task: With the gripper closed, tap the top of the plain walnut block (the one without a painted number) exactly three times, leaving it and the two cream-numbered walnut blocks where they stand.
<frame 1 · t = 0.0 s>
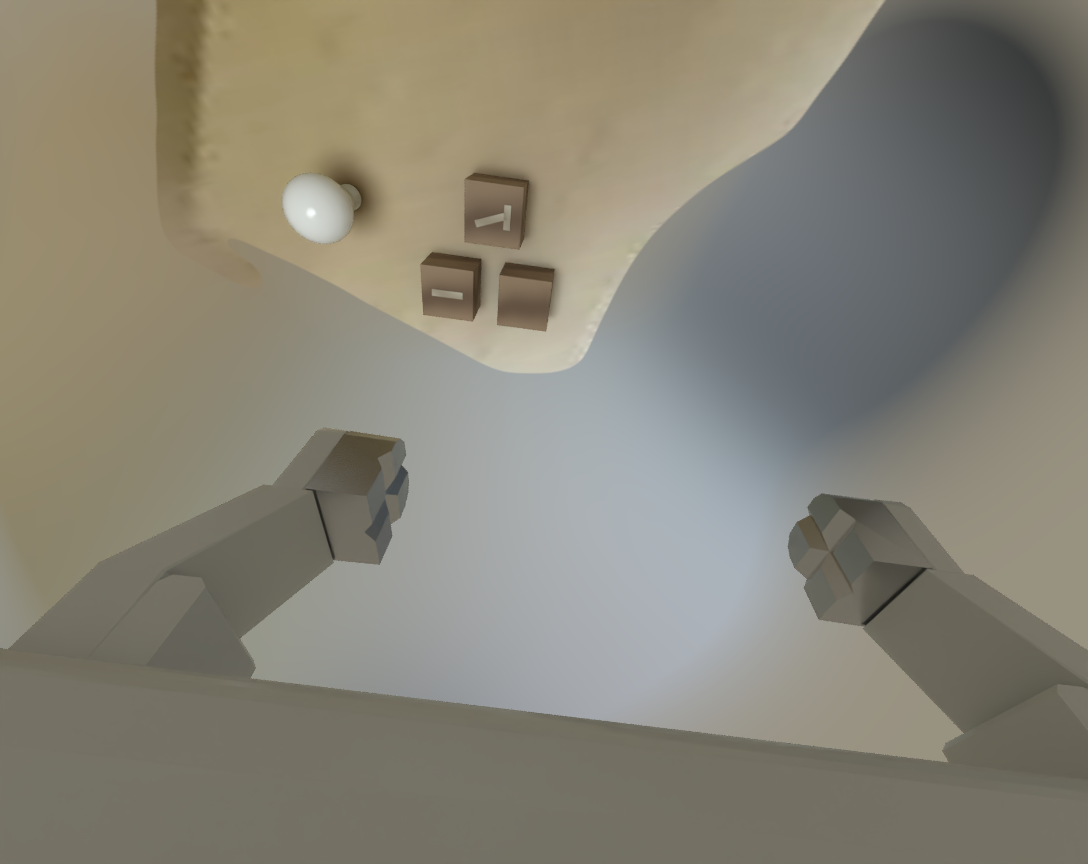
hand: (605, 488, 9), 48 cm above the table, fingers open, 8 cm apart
numbered block 7: (500, 206, 49), on the table
lightbulb: (352, 195, 50), on the table
numbered block 1: (457, 280, 55), on the table
plain block: (527, 289, 55), on the table
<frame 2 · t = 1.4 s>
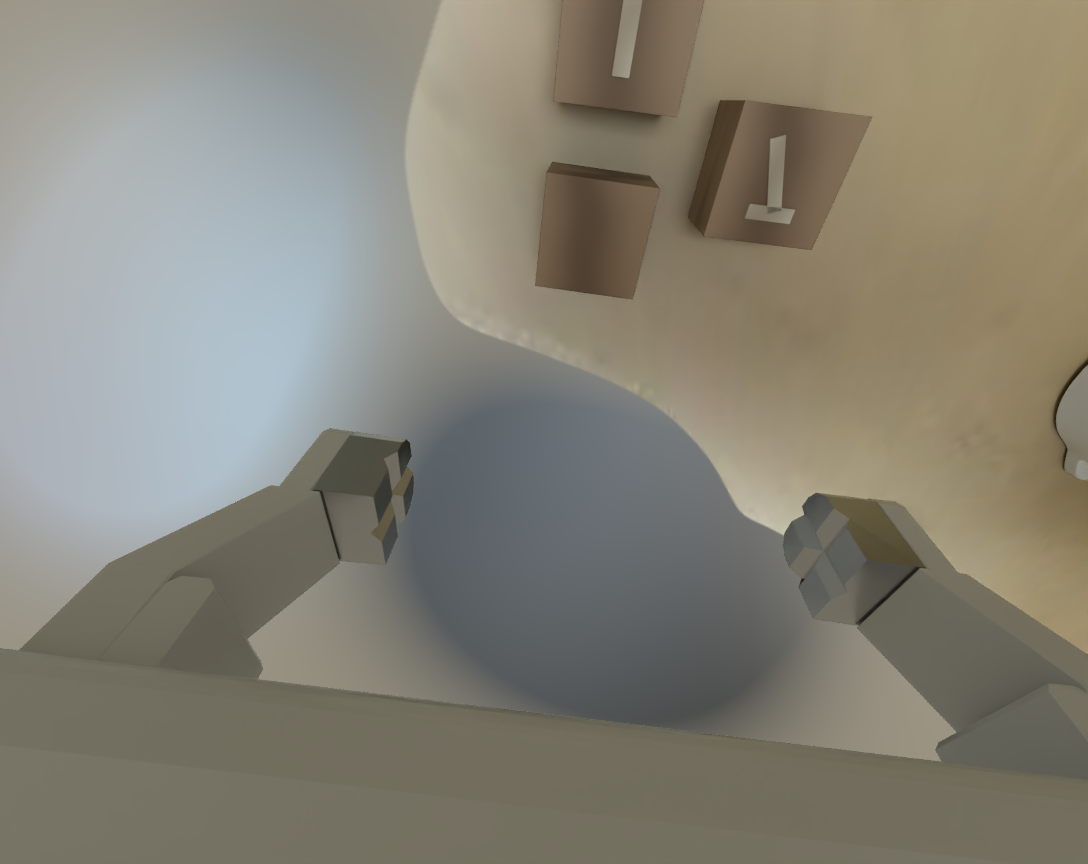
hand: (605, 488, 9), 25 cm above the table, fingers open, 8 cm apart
numbered block 7: (751, 169, 26), on the table
numbered block 1: (621, 38, 23), on the table
plain block: (592, 221, 29), on the table
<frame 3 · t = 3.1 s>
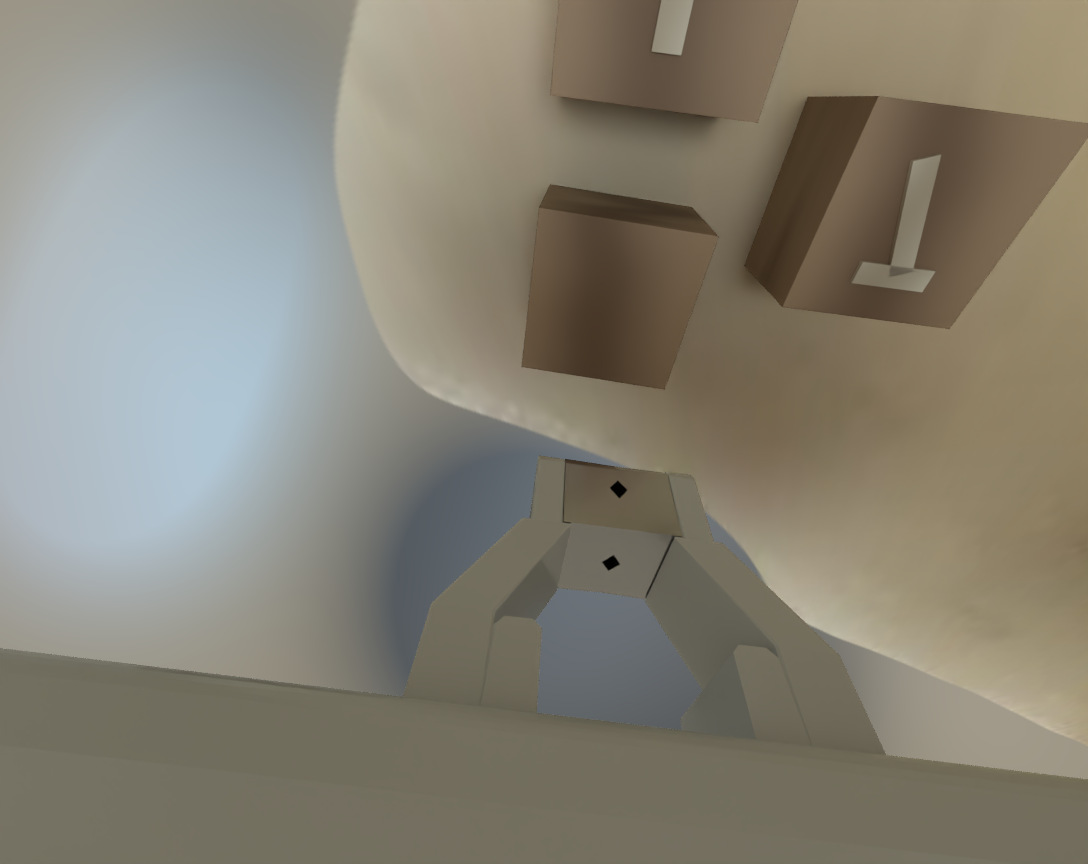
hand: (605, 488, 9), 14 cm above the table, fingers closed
numbered block 7: (845, 199, 18), on the table
plain block: (605, 267, 20), on the table
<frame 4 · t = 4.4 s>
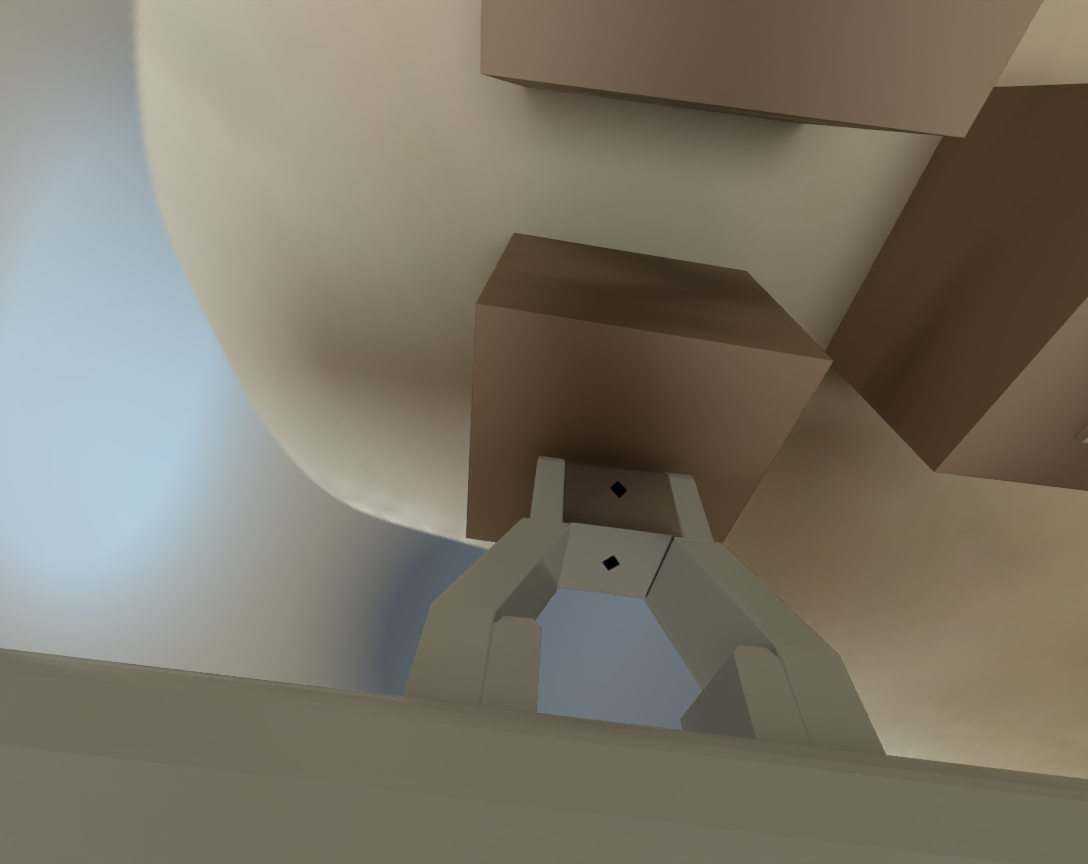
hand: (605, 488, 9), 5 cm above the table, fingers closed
numbered block 7: (1002, 259, 11), on the table
plain block: (604, 355, 13), on the table
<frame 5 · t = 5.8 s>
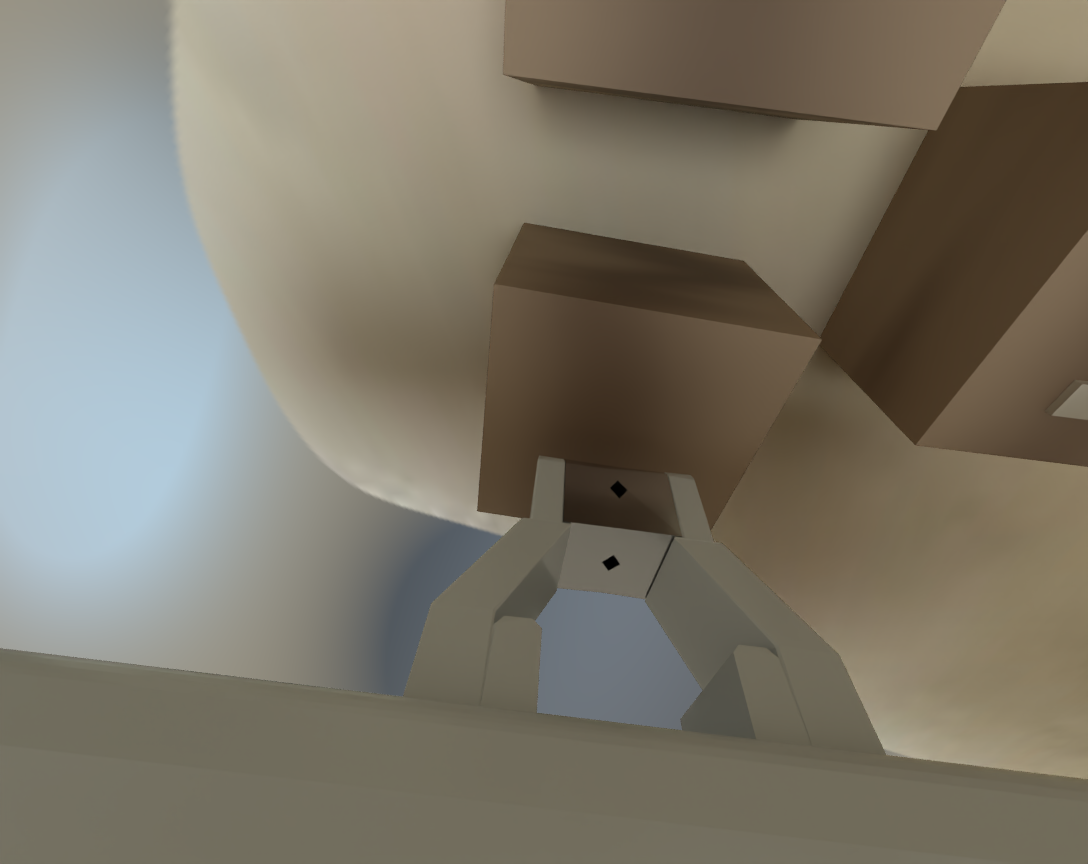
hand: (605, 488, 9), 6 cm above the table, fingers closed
numbered block 7: (986, 249, 11), on the table
plain block: (608, 341, 14), on the table
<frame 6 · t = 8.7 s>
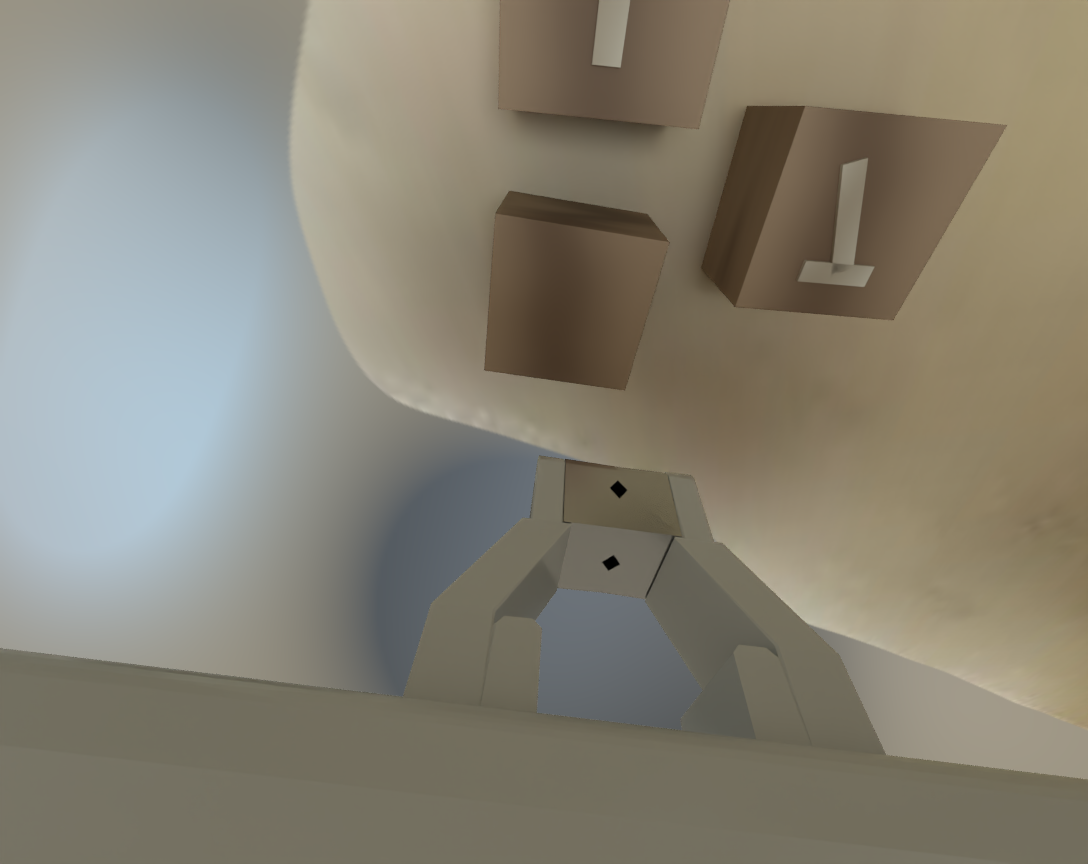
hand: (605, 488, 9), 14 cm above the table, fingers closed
numbered block 7: (791, 200, 18), on the table
numbered block 1: (602, 10, 15), on the table
plain block: (566, 272, 21), on the table
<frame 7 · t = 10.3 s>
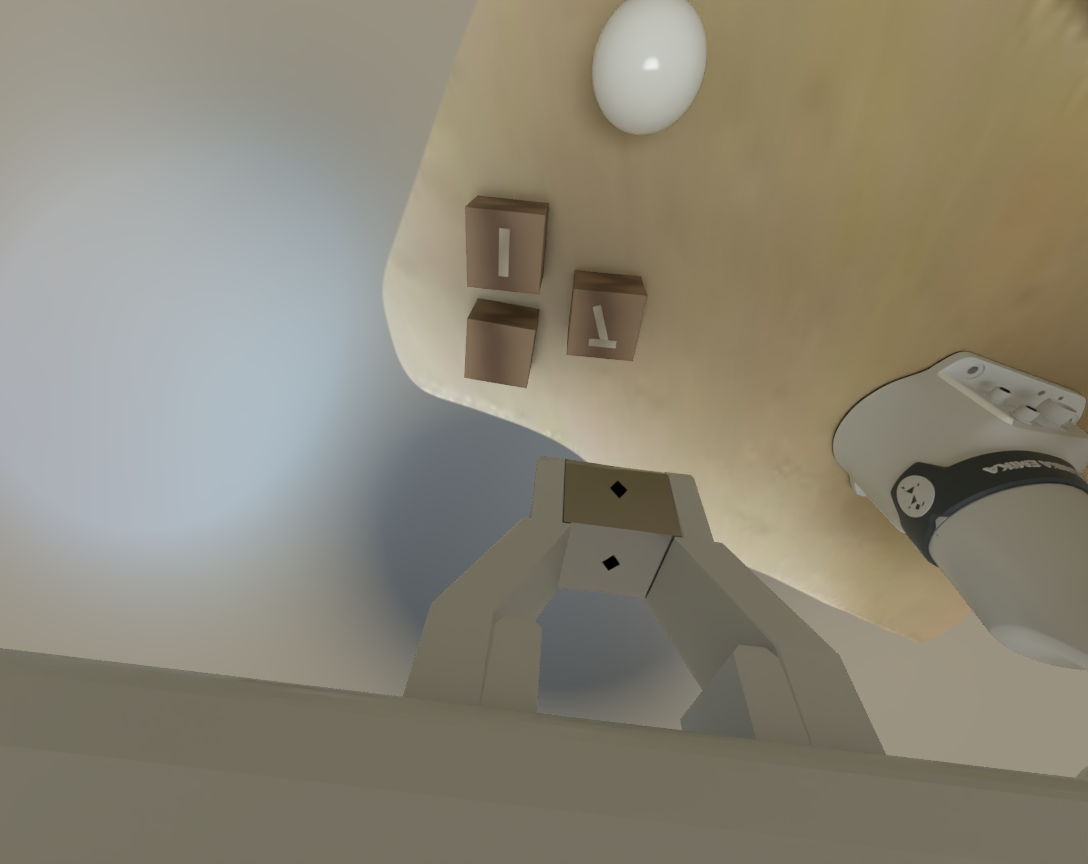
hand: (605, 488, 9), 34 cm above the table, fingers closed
numbered block 7: (602, 305, 41), on the table
lightbulb: (634, 75, 31), on the table
numbered block 1: (512, 237, 38), on the table
plain block: (505, 332, 44), on the table
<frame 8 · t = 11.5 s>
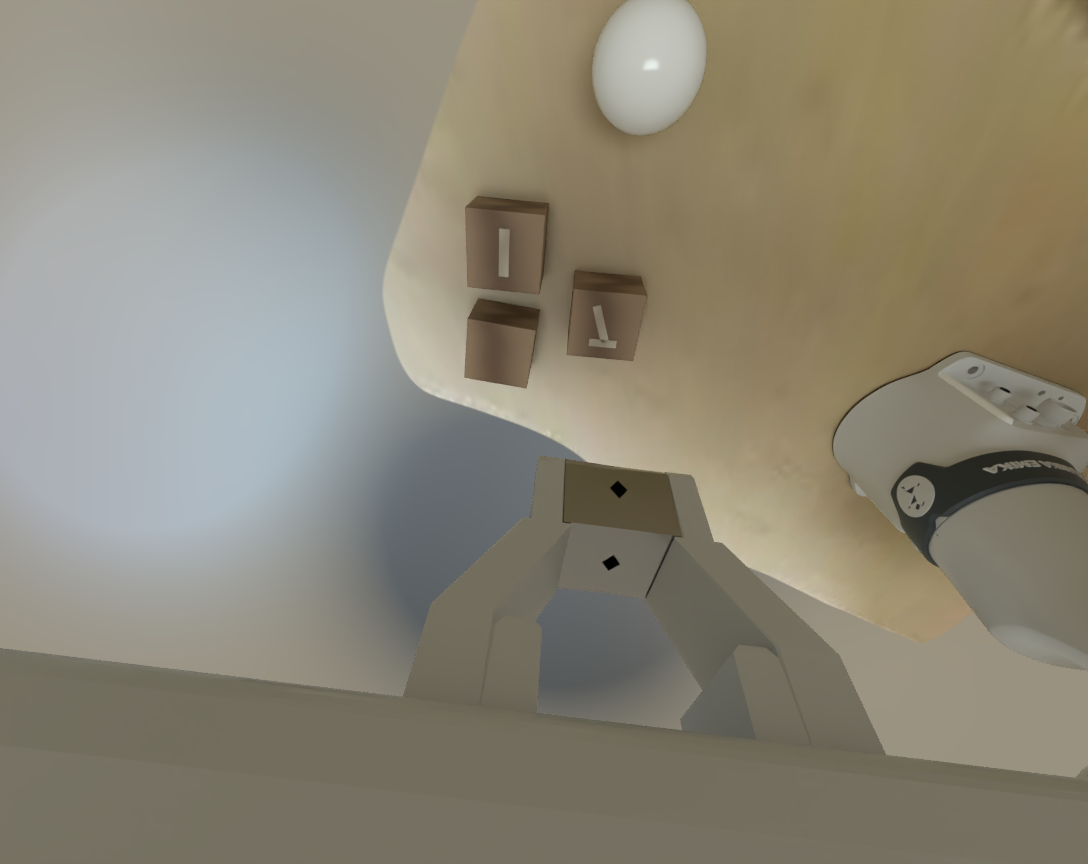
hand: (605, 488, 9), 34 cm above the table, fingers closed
numbered block 7: (602, 305, 41), on the table
lightbulb: (634, 75, 31), on the table
numbered block 1: (512, 237, 38), on the table
plain block: (506, 332, 44), on the table
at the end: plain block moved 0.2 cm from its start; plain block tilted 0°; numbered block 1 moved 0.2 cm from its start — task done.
